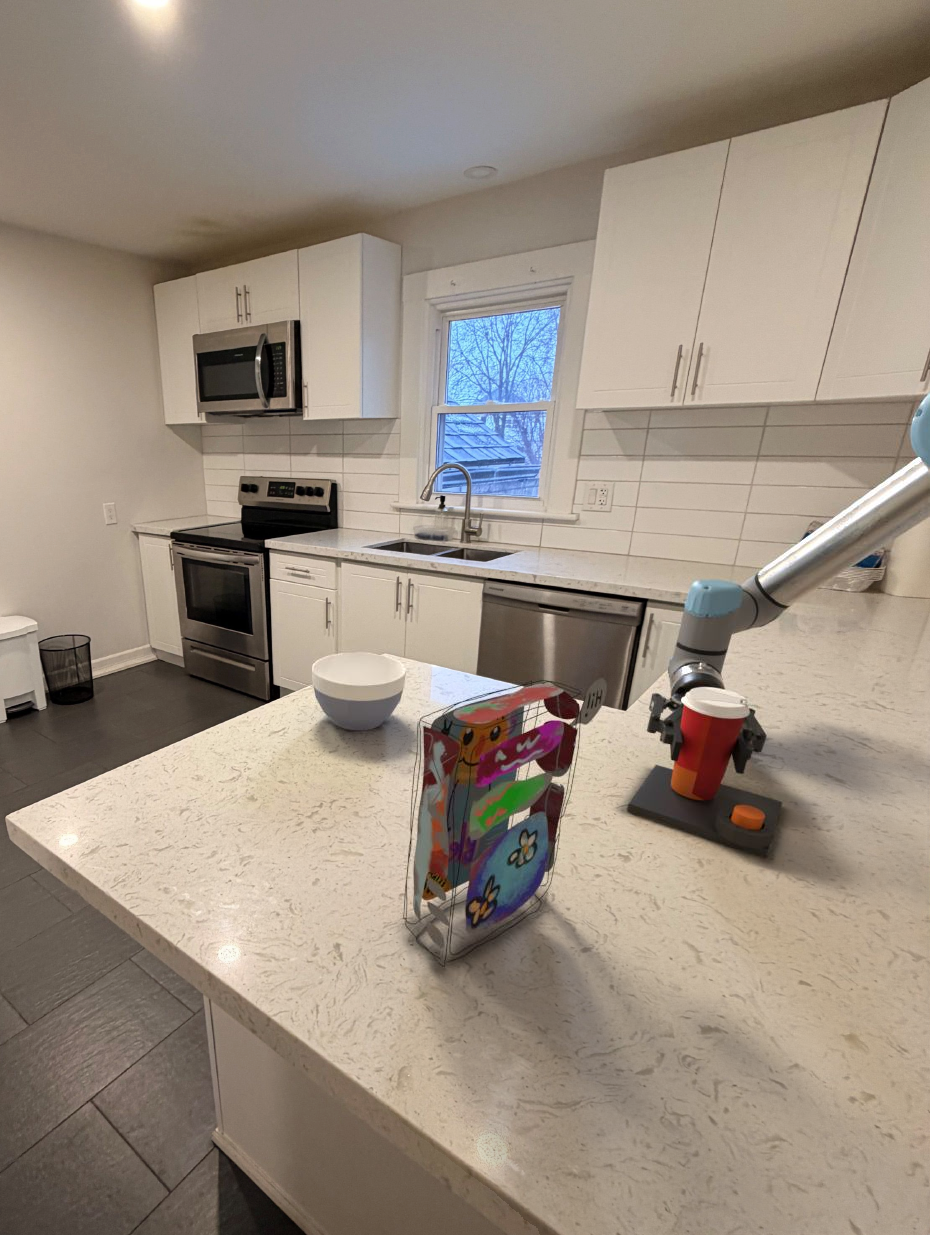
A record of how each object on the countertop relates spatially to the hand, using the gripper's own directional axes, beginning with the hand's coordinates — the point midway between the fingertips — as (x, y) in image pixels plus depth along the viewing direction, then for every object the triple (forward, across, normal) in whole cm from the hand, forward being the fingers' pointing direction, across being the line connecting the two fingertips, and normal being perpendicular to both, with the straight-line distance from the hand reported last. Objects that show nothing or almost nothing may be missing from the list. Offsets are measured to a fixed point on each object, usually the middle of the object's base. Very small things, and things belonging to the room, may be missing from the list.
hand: (708, 757), depth 81 cm
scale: (-3, +2, +9) cm, 9 cm away
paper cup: (-5, 0, +8) cm, 9 cm away
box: (+27, -19, +9) cm, 35 cm away
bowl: (-9, -52, +9) cm, 53 cm away
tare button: (+4, +5, +6) cm, 9 cm away
